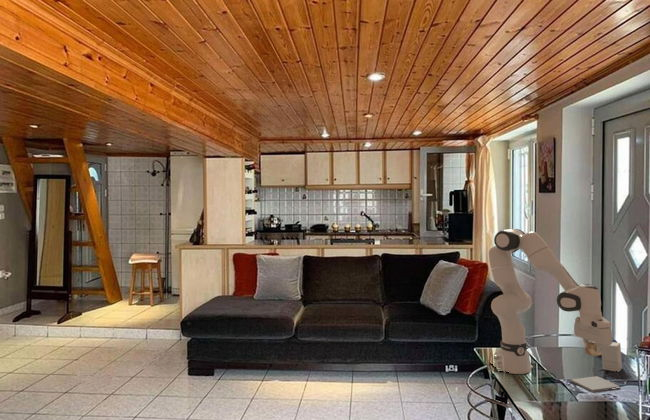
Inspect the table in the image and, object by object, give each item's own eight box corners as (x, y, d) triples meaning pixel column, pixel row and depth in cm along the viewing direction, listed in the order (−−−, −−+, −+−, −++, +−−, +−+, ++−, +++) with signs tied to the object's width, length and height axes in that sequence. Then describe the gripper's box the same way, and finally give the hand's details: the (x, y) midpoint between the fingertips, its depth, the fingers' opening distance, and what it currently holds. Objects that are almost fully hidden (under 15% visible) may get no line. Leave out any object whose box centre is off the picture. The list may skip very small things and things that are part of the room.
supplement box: (622, 368, 239) (621, 342, 239) (619, 372, 233) (617, 346, 233) (605, 365, 244) (604, 340, 244) (602, 369, 238) (600, 344, 238)
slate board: (570, 381, 224) (570, 379, 224) (597, 378, 227) (597, 376, 227) (592, 392, 210) (592, 389, 210) (620, 388, 213) (620, 386, 213)
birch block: (585, 353, 220) (584, 342, 221) (594, 352, 221) (593, 341, 221) (592, 355, 216) (591, 344, 216) (601, 354, 217) (600, 343, 217)
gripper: (569, 316, 229) (571, 345, 228) (601, 325, 208) (603, 357, 208) (581, 315, 230) (583, 344, 229) (614, 323, 210) (616, 355, 209)
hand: (593, 350), depth 219 cm, fingers closed on birch block, 4 cm apart
